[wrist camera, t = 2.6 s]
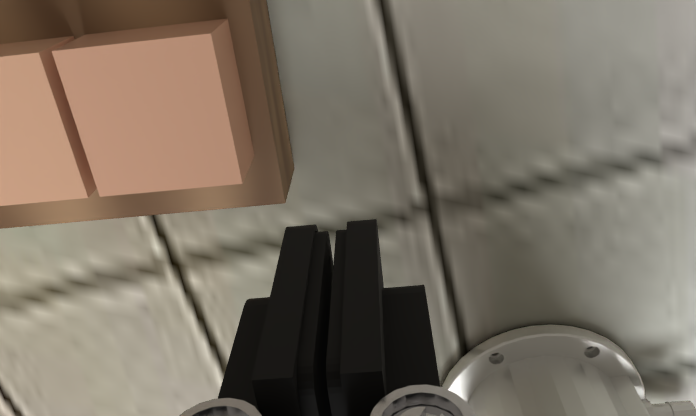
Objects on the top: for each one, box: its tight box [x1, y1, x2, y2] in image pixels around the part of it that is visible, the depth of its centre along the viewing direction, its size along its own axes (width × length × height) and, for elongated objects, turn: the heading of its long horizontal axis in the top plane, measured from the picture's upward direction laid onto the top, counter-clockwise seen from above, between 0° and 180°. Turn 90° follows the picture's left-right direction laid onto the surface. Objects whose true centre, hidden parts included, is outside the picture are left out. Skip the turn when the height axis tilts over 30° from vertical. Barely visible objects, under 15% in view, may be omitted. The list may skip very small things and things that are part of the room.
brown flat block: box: [0, 0, 294, 229], centre depth 28 cm, size 14×11×4 cm
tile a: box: [52, 19, 255, 197], centre depth 25 cm, size 6×6×3 cm
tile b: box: [0, 36, 97, 206], centre depth 25 cm, size 6×6×3 cm
